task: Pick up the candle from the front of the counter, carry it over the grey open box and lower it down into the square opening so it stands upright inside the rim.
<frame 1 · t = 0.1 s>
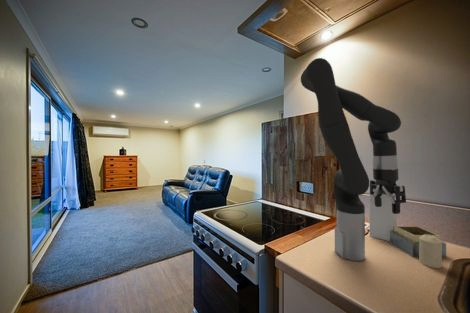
hand: (386, 209, 73), 17 cm above the worktop, tool pointing down, fingers open, 8 cm apart
candle: (430, 264, 67), on the worktop
tall white carton: (383, 236, 88), on the worktop
grey open box: (415, 249, 77), on the worktop
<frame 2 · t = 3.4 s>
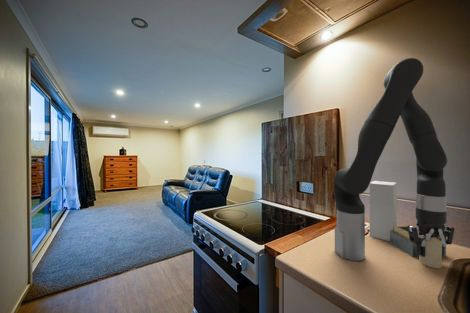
hand: (430, 255, 67), 3 cm above the worktop, tool pointing down, fingers closed on candle, 5 cm apart
candle: (430, 264, 67), on the worktop, touching gripper
everything else where it was.
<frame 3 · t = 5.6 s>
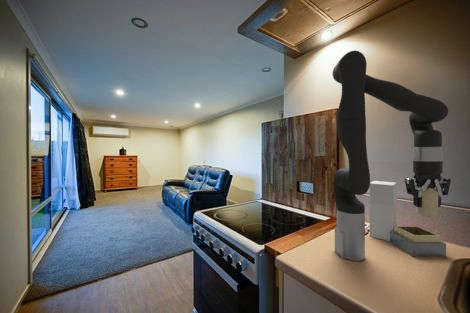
hand: (427, 206, 68), 20 cm above the worktop, tool pointing down, fingers closed on candle, 5 cm apart
candle: (426, 215, 68), point 16 cm above the worktop, touching gripper
everything else where it was.
when the fingers open (9 cm above the worktop, at t = 7.8 s): candle drops 1 cm, resting on grey open box.
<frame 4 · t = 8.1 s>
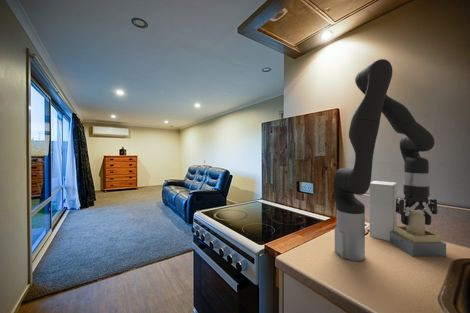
hand: (415, 224, 76), 10 cm above the worktop, tool pointing down, fingers open, 8 cm apart
candle: (415, 236, 76), point 5 cm above the worktop, touching grey open box
everything else where it was.
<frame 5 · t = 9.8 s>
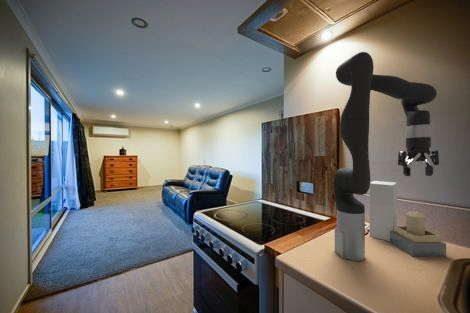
hand: (418, 175, 79), 29 cm above the worktop, tool pointing down, fingers open, 8 cm apart
nothing on the worktop moved.
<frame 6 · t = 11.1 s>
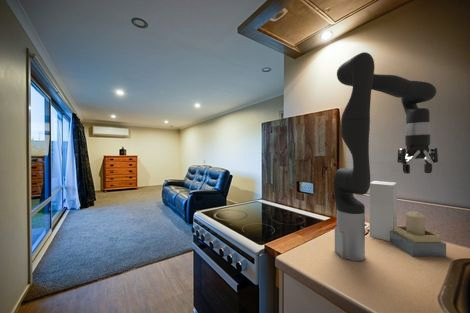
hand: (417, 173, 80), 30 cm above the worktop, tool pointing down, fingers open, 8 cm apart
nothing on the worktop moved.
at the end: candle 0.2 cm off-centre on the grey open box, point 5.0 cm above the grey open box's base; candle tilted 0°; the gripper is holding nothing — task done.
